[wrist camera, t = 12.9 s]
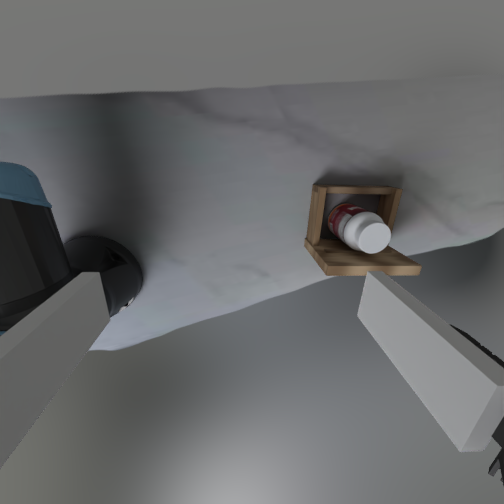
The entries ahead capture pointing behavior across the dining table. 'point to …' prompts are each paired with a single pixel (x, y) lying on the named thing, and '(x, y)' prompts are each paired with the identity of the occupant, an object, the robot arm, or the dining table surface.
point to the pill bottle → (359, 228)
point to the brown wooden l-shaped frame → (340, 254)
